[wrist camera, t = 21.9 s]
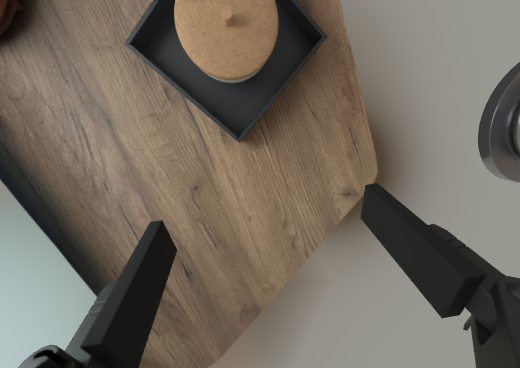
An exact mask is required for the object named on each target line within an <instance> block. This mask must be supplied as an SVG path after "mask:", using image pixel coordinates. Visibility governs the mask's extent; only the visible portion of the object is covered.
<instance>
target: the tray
mask: <svg viewBox="0 0 520 368" xmlns="http://www.w3.org/2000/svg"><path fill="white" fill-rule="evenodd" d="M275 3H276V6H277V11H278V24H279V27H278V36H277V39H276V43H275V46H274V49H273V51H272V53H271V55H270V57H269V58H268V60H267V62H266V63H265V64H264V66H263V67H262V68H261V69H260V71H258V72H257V73H256V74H255V75H254V76H252V77H251V78H249V79H247V80H245V81H242V82H238V83H226V82H221V81H218V80H216V79H214V78H212V77H210V76H209V75H207V74H206V73H204V72H203V71H202V70H201V69H200V68H199V67H198V66H197V65H196V64H195V63H194V62H193V61H192V60H191V58H190V57H189V56H188V55H187V53H186V51H185V50H184V48H183V46H182V44H181V42H180V40H179V37H178V34H177V30H176V26H175V19H174V7H175V0H153V1H152V3H151V4H150V6H149V7H148V9H147V10H146V12H145V13H144V15H143V16H142V18H141V19H140V21H139V22H138V24H137V25H136V27H135V28H134V30H133V31H132V33H131V34H130V36H129V37H128V39H127V40H126V42H125V43H124V44H125V45H126V46H127V47H128V48H129V49H130V50H132V51H133V52H134V53H135V54H136V55H137V56H139V57H140V58H141V59H142V60H143V61H144V62H146V63H147V64H148V65H149V66H150V67H151V68H153V69H154V70H155V71H156V72H157V73H158V74H160V75H161V76H162V77H163V78H164V79H165V80H167V81H168V82H169V83H170V84H171V85H172V86H174V87H175V88H176V89H177V90H178V91H179V92H181V93H182V94H183V95H184V96H185V97H186V98H188V99H189V100H190V101H191V102H192V103H193V104H195V105H196V106H197V107H198V108H199V109H200V110H202V111H203V112H204V113H205V114H206V115H207V116H209V117H210V118H211V119H212V120H213V121H214V122H216V123H217V124H218V125H219V126H220V127H221V128H223V129H224V130H225V131H226V132H227V133H228V134H230V135H231V136H232V137H233V138H234V139H235V140H237V141H238V142H239V143H240V141H241V140H242V139H243V138H244V137H245V135H246V134H247V133H248V132H249V131H250V129H251V128H252V127H253V126H254V125H255V123H256V122H257V121H258V120H259V119H260V117H261V116H262V115H263V114H264V113H265V111H266V110H267V109H268V108H269V107H270V105H271V104H272V103H273V102H274V101H275V99H276V98H277V97H278V96H279V95H280V93H281V92H282V91H283V90H284V89H285V87H286V86H287V85H288V84H289V83H290V81H291V80H292V79H293V78H294V77H295V75H296V74H297V73H298V72H299V70H300V69H301V68H302V67H303V66H304V64H305V63H306V62H307V61H308V60H309V58H310V57H311V56H312V55H313V54H314V52H315V51H316V50H317V49H318V48H319V46H320V45H321V44H322V43H323V42H324V40H325V39H326V38H327V35H326V34H325V33H324V32H323V31H322V29H321V28H320V27H319V26H318V25H317V24H316V22H315V21H314V20H313V19H312V18H311V16H310V15H309V14H308V13H307V12H306V10H305V9H304V8H303V7H302V6H301V4H300V3H299V2H298V1H297V0H275Z"/></svg>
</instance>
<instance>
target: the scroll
mask: <svg viewBox="0 0 520 368" xmlns="http://www.w3.org/2000/svg"><path fill="white" fill-rule="evenodd" d="M16 10H18V11H23V10H24V7H23V6H22V5H21V4H20V3H19V2H18V1H17V0H0V35H1V34H2V33H3V32H4V31H5V30H6V29H7V28H8V26H9V25H10V23H11V21H12V19H13V17H14V14H15V11H16Z"/></svg>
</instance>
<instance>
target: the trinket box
mask: <svg viewBox="0 0 520 368" xmlns="http://www.w3.org/2000/svg"><path fill="white" fill-rule="evenodd" d="M174 19H175V26H176V30H177V34H178V37H179V40H180V42H181V44H182V46H183V48H184V50H185V51H186V53H187V55H188V56H189V57H190V58H191V60H192V61H193V62H194V63H195V64H196V65H197V66H198V67H199V68H200V69H201V70H202V71H203V72H204V73H206V74H207V75H209V76H210V77H212V78H214V79H216V80H218V81H221V82H226V83H238V82H242V81H245V80H247V79H249V78H251V77H252V76H254V75H255V74H256V73H257V72H258V71H260V69H261V68H262V67H263V66H264V64H265V63H266V62H267V60H268V58H269V57H270V55H271V53H272V51H273V49H274V46H275V43H276V39H277V36H278V27H279V24H278V11H277V6H276V3H275V0H175V7H174Z"/></svg>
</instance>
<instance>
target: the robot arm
mask: <svg viewBox="0 0 520 368" xmlns="http://www.w3.org/2000/svg"><path fill="white" fill-rule="evenodd" d="M511 140H512V145H513V148H514V150H515V152H516V153H517V155H518V156H519V157H520V105H519V107H518V109H517V112H516V114H515V117H514V120H513V123H512V129H511ZM361 219H362V220H363V222H364V223H365V224H366V225H367V227H368V228H369V229H370V230H371V232H372V233H373V234H374V235H375V236H376V238H377V239H378V240H379V241H380V243H381V244H382V245H383V246H384V247H385V248H386V250H387V251H388V252H389V254H390V255H391V256H392V257H393V259H394V260H395V261H396V262H397V263H398V265H399V266H400V267H401V268H402V270H403V271H404V272H405V273H406V275H407V276H408V277H409V278H410V279H411V281H412V282H413V283H414V284H415V286H416V287H417V288H418V289H419V291H420V292H421V293H422V294H423V296H424V297H425V298H426V299H427V300H428V302H429V303H430V304H431V305H432V306H433V308H434V309H435V310H436V312H437V313H438V314H439V315H440V316H441V318H446V317H452V316H457V315H460V314H461V312H462V311H463V309H464V308H466V309H467V310H468V311H469V312H470V313H471V314H472V315H471V316H470V318H469V319H468V320H467V322H466V323H465V324H464V328H463V329H464V330H466V331H467V330H468V329H469V327H470V326H471V331H472V339H473V346H474V353H475V362H476V368H520V279H519V278H515V277H510V276H505V275H504V274H502V273H501V272H499V271H498V270H497V269H496V268H494V267H493V266H492V265H491V264H489V263H488V262H487V261H485V260H484V259H483V258H481V257H480V256H479V255H478V254H476V253H475V252H474V251H473V250H471V249H470V248H469V247H466V245H465V244H464V243H462V242H461V241H460V240H457V238H456V237H455V236H453V235H452V234H451V233H450V232H448V231H447V230H445V229H443V228H441V227H439V226H437V225H435V224H431V225H427V224H426V223H424V222H423V221H422V220H421V219H420V218H418V217H417V216H416V215H415V214H414V213H412V212H411V211H410V210H409V209H408V208H406V207H405V206H404V205H403V204H402V203H400V202H399V201H398V200H397V199H395V198H394V197H393V196H392V195H391V194H390V193H388V192H387V191H386V190H385V189H384V188H382V187H381V186H380V185H379V184H378V183H375V184H369V185H365V191H364V199H363V205H362V212H361ZM176 252H177V249H176V247H175V245H174V243H173V241H172V239H171V237H170V235H169V233H168V231H167V229H166V227H165V225H164V223H163V221H162V220H161V221H155V222H150V223H149V225H148V227H147V229H146V230H145V232H144V234H143V236H142V238H141V239H140V241H139V243H138V245H137V246H136V248H135V250H134V252H133V253H132V255H131V257H130V259H129V261H128V262H127V264H126V266H125V268H124V269H123V271H122V273H121V275H120V276H119V278H118V280H115V281H111V282H110V283H109V284H108V285H107V286H106V287H105V288H104V289H103V290H102V291H101V292H100V294H99V296H98V297H97V299H96V301H95V302H94V305H92V307H91V309H90V310H89V314H88V315H86V317H85V319H84V320H83V322H82V324H81V325H80V327H79V328H78V330H77V332H76V334H75V335H74V337H73V338H72V340H71V342H70V343H69V345H68V347H67V348H66V350H65V351H63V350H62V349H61V348H59V347H57V346H55V345H49V346H46V347H43V348H41V349H39V350H38V351H36V352H34V353H33V354H32V355H31V356H29V357H28V358H27V359H26V360H25V361H24V362H23V363H22V364H21V365H20V366H19V367H18V368H138V367H139V364H140V361H141V358H142V355H143V352H144V349H145V346H146V343H147V340H148V337H149V334H150V331H151V328H152V325H153V322H154V319H155V316H156V313H157V310H158V307H159V304H160V301H161V298H162V295H163V292H164V289H165V286H166V283H167V280H168V277H169V273H170V270H171V267H172V264H173V261H174V258H175V255H176Z"/></svg>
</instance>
